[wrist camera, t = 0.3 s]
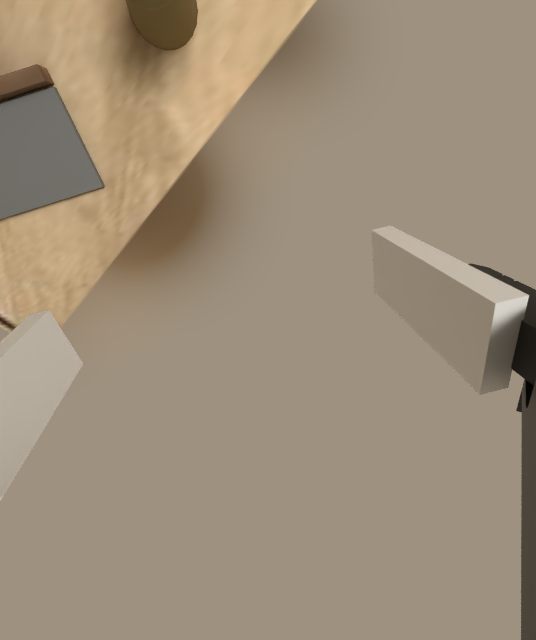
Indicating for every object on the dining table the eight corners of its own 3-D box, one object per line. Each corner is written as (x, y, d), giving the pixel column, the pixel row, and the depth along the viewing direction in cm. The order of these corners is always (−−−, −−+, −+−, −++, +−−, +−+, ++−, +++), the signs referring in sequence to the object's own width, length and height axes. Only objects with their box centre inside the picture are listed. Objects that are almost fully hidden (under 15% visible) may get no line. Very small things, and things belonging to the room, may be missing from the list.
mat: (-83, 132, 31) (-88, 132, 30) (56, 87, 31) (53, 86, 30) (-17, 224, 35) (-21, 225, 35) (104, 186, 35) (103, 186, 34)
